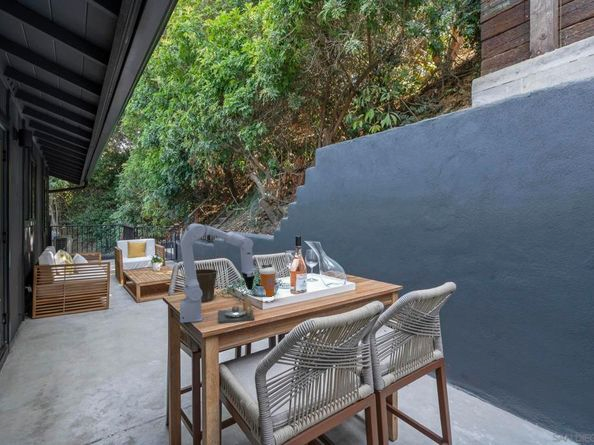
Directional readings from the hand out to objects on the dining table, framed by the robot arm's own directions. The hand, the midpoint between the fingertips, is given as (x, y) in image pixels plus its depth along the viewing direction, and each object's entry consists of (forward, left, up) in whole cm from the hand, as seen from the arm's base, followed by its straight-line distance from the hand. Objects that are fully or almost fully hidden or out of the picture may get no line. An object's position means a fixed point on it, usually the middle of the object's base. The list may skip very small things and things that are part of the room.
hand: (249, 287), depth 163 cm
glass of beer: (+12, +14, -11) cm, 21 cm away
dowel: (-2, -14, -10) cm, 17 cm away
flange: (-6, -8, -10) cm, 14 cm away
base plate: (-7, -9, -11) cm, 16 cm away
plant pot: (-23, +26, -11) cm, 37 cm away
